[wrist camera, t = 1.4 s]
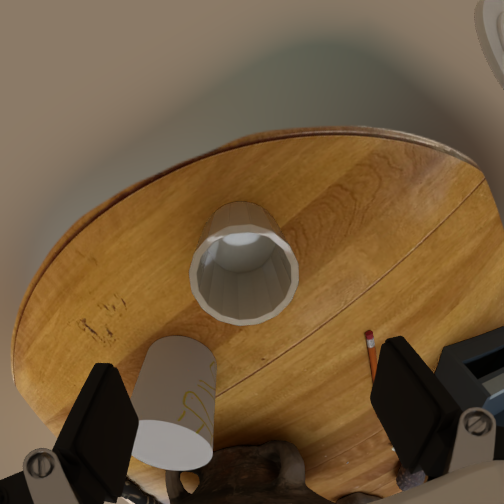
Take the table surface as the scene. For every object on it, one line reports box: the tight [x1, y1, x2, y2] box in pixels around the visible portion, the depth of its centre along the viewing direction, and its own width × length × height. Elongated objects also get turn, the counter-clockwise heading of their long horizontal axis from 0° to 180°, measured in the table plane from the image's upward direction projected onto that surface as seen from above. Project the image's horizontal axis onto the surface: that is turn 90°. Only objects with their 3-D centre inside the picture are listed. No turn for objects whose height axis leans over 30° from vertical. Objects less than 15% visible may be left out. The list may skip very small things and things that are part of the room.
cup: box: [130, 336, 217, 471], centre depth 26 cm, size 8×8×12 cm
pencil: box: [365, 331, 378, 417], centre depth 35 cm, size 1×19×1 cm, turn 19°
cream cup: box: [189, 202, 299, 326], centre depth 24 cm, size 7×7×9 cm
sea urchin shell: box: [396, 466, 426, 491], centre depth 41 cm, size 19×19×10 cm
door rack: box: [435, 326, 504, 427], centre depth 29 cm, size 15×12×16 cm
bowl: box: [166, 440, 336, 504], centre depth 33 cm, size 27×26×15 cm
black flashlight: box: [121, 480, 157, 504], centre depth 42 cm, size 4×5×25 cm
